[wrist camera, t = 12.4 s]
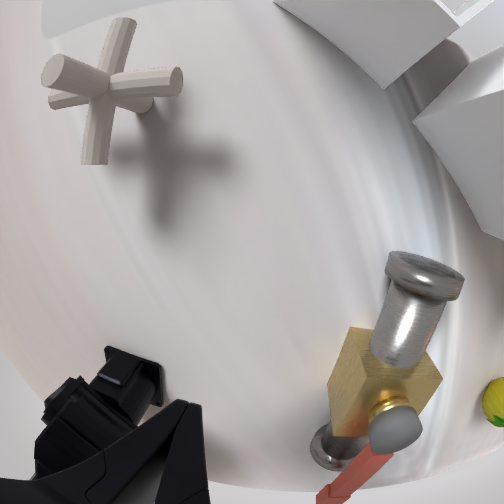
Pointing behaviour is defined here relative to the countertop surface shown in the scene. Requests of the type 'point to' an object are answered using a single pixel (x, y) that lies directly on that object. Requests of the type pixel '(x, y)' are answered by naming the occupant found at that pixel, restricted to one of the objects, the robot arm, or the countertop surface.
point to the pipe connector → (107, 88)
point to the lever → (374, 452)
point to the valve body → (386, 358)
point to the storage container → (447, 102)
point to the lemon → (494, 402)
